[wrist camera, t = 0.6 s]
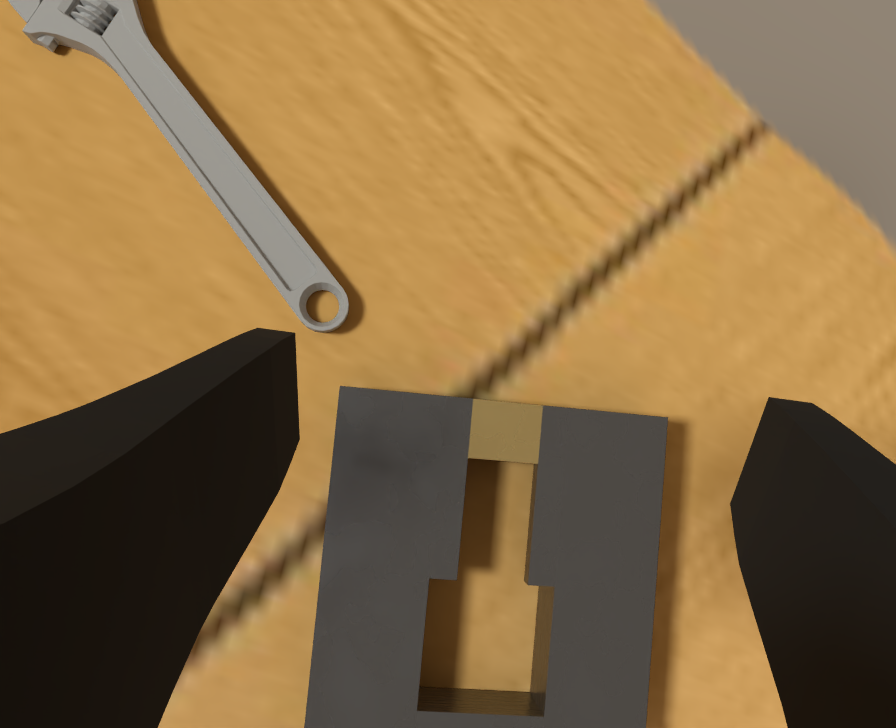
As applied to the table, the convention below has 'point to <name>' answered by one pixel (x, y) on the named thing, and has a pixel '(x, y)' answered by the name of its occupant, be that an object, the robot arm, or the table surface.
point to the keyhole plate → (437, 555)
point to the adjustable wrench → (189, 140)
